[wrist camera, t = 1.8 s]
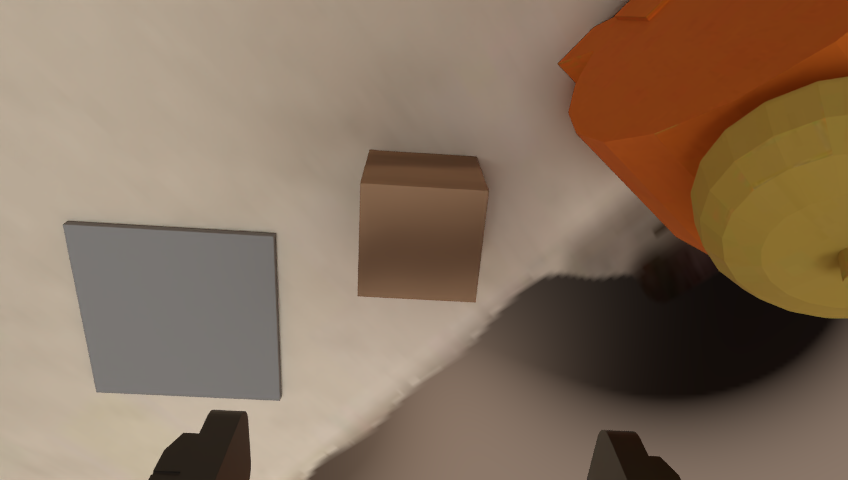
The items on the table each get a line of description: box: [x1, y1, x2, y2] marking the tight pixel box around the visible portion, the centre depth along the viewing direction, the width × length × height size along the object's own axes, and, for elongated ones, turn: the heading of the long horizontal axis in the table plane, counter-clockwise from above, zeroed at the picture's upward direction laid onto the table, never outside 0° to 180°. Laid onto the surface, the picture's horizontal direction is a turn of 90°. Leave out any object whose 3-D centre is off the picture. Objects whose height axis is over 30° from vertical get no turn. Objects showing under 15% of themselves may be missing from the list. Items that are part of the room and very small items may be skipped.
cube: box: [358, 150, 489, 302], centre depth 26 cm, size 5×5×5 cm
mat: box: [63, 221, 281, 401], centre depth 30 cm, size 10×10×1 cm
